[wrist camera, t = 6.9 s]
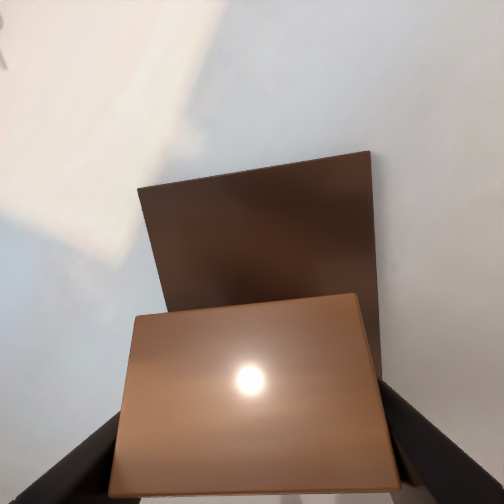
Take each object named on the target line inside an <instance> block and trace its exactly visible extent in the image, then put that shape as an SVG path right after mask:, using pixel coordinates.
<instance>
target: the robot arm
mask: <svg viewBox="0 0 504 504" xmlns="http://www.w3.org/2000/svg"><path fill="white" fill-rule="evenodd" d="M376 378H377V383H378V387H379V391H380V395H381V399H382V404H383V408H384V412H385V416H386V421H387V425H388V429H389V433H390V437H391V442H392V446H393V450H394V454H395V459H396V463H397V467H398V471H399V475H400V480H401V484H402V489H401V491H399V492H390V494H391V497H392V500H393V502H394V504H504V489H503V486H502V485H501V484H500V483H499V482H498V481H497V480H496V479H495V478H493V477H492V476H491V475H490V474H489V473H488V472H487V471H485V470H484V469H483V468H482V467H481V466H480V465H479V464H477V463H476V462H475V461H474V460H473V459H472V458H471V457H469V456H468V455H467V454H466V453H465V452H464V451H463V450H462V449H460V448H459V447H458V446H457V445H456V444H455V443H454V442H452V441H451V440H450V439H449V438H448V437H447V436H446V435H444V434H443V433H442V432H441V431H440V430H439V429H438V428H436V427H435V426H434V425H433V424H432V423H431V422H430V421H428V420H427V419H426V418H425V417H424V416H423V415H422V414H420V413H419V412H418V411H417V410H416V409H415V408H414V407H412V406H411V405H410V404H409V403H408V402H407V401H406V400H404V399H403V398H402V397H401V396H400V395H399V394H398V393H396V392H395V391H394V390H393V389H392V388H391V387H390V386H388V385H387V384H386V383H385V382H384V381H383V380H382V379H380V378H379V377H376ZM120 412H121V411H119V412H118V413H117V414H116V415H115V416H113V417H112V418H111V419H110V420H109V421H107V422H106V423H105V424H104V425H103V426H101V427H100V428H99V429H98V430H97V431H95V432H94V433H93V434H92V435H91V436H89V437H88V438H87V439H86V440H85V441H83V442H82V443H81V444H80V445H79V446H77V447H76V448H75V449H74V450H73V451H71V452H70V453H69V454H68V455H66V456H65V457H64V458H63V459H62V460H60V461H59V462H58V463H57V464H56V465H54V466H53V467H52V468H51V469H50V470H48V471H47V472H46V473H45V474H44V475H42V476H41V477H40V478H39V479H38V480H36V481H35V482H34V483H33V484H32V485H30V486H29V487H28V488H27V489H26V490H24V491H23V492H22V493H21V494H20V495H18V496H17V497H16V499H15V500H12V501H11V502H10V503H9V504H139V503H140V500H141V498H110V497H108V489H109V483H110V476H111V470H112V464H113V457H114V451H115V444H116V438H117V432H118V425H119V419H120Z"/></svg>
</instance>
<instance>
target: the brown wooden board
mask: <svg viewBox="0 0 504 504" xmlns="http://www.w3.org/2000/svg"><path fill="white" fill-rule="evenodd" d="M137 191H138V195H139V199H140V203H141V207H142V211H143V215H144V219H145V223H146V227H147V231H148V235H149V239H150V243H151V247H152V251H153V255H154V259H155V263H156V267H157V271H158V275H159V279H160V283H161V287H162V290H163V294H164V298H165V302H166V306H167V310H168V312H177V311H187V310H196V309H206V308H215V307H225V306H234V305H244V304H253V303H263V302H272V301H282V300H291V299H301V298H310V297H320V296H329V295H339V294H348V293H355V294H356V295H357V298H358V302H359V307H360V311H361V315H362V319H363V323H364V328H365V332H366V336H367V340H368V345H369V349H370V353H371V357H372V361H373V366H374V370H375V374H376V377H379V378H380V379H382V367H381V347H380V328H379V309H378V290H377V270H376V251H375V232H374V212H373V193H372V174H371V154H370V151H363V152H357V153H351V154H345V155H338V156H332V157H326V158H320V159H314V160H308V161H302V162H296V163H290V164H283V165H277V166H271V167H265V168H259V169H253V170H247V171H241V172H235V173H228V174H222V175H216V176H210V177H204V178H198V179H192V180H186V181H180V182H173V183H167V184H161V185H155V186H149V187H143V188H138V189H137Z"/></svg>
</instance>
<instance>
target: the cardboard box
mask: <svg viewBox="0 0 504 504" xmlns="http://www.w3.org/2000/svg"><path fill="white" fill-rule="evenodd" d="M401 489H402V484H401V480H400V475H399V471H398V467H397V463H396V459H395V454H394V450H393V446H392V442H391V437H390V433H389V429H388V425H387V421H386V416H385V412H384V408H383V404H382V399H381V395H380V391H379V387H378V383H377V378H376V374H375V370H374V366H373V361H372V357H371V353H370V349H369V345H368V340H367V336H366V332H365V328H364V323H363V319H362V315H361V311H360V307H359V302H358V298H357V295H356V294H355V293H348V294H339V295H329V296H320V297H310V298H301V299H291V300H282V301H272V302H263V303H253V304H244V305H234V306H225V307H215V308H206V309H196V310H187V311H177V312H168V313H158V314H149V315H139V316H136V318H135V323H134V329H133V335H132V342H131V348H130V355H129V361H128V367H127V374H126V380H125V387H124V393H123V400H122V406H121V412H120V419H119V425H118V432H117V438H116V444H115V451H114V457H113V464H112V470H111V476H110V483H109V489H108V497H110V498H150V497H196V496H242V495H288V494H335V493H381V492H399V491H401Z"/></svg>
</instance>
